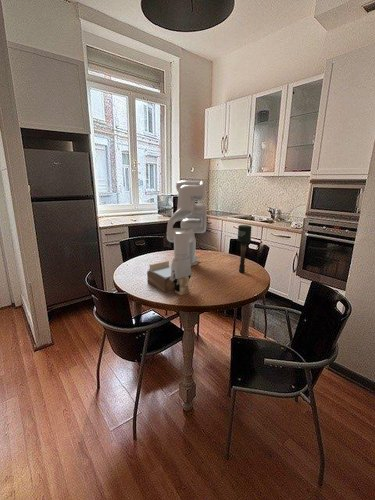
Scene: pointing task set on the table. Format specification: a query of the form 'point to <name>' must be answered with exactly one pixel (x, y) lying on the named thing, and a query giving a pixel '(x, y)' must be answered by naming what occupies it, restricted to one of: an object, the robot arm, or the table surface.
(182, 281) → the cream upright block
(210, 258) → the table surface
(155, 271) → the lid
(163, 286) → the toolbox
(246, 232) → the potato masher grenade
